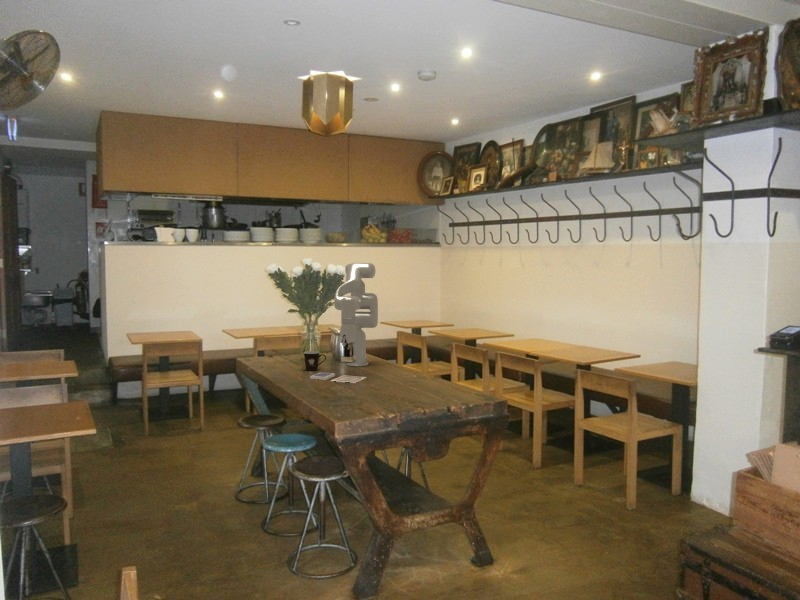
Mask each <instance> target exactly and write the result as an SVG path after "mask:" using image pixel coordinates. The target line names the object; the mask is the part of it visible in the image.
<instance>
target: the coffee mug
mask: <svg viewBox="0 0 800 600" xmlns="http://www.w3.org/2000/svg"><path fill="white" fill-rule="evenodd" d="M303 356H304V363H305V364H304V365H305V370H306V372H315V371H318V367H319V365H321V364H323V363H324V362H325V361H326V359H327V356H326V355H325V354H320V352H319V351H315V350H311V351H305V352H304V351H303ZM321 356H323V357H324V360H323V361H321V362H319V359H320V357H321Z"/></svg>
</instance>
